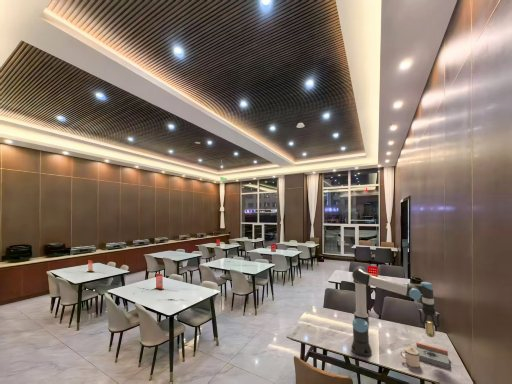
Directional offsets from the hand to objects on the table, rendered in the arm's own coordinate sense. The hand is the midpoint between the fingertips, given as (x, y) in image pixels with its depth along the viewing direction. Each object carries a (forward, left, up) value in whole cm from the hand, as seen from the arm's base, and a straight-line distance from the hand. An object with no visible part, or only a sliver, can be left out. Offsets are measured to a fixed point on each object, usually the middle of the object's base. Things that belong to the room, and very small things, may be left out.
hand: (430, 334), depth 180 cm
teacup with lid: (-13, -15, -19) cm, 28 cm away
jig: (0, +1, -19) cm, 19 cm away
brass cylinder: (0, 0, -1) cm, 1 cm away
